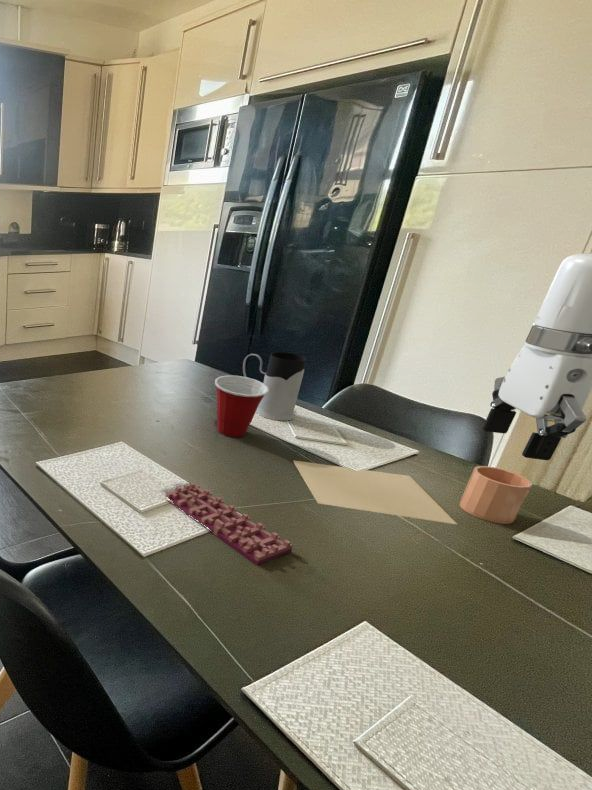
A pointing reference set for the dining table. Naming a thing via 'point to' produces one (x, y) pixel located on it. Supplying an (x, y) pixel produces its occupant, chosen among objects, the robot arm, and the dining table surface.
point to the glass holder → (280, 384)
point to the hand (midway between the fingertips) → (513, 444)
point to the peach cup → (495, 494)
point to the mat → (370, 491)
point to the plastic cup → (237, 403)
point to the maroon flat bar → (229, 524)
